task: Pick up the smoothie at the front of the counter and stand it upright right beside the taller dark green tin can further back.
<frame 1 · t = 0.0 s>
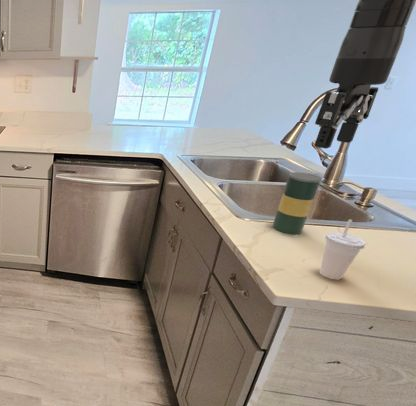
hand: (333, 144, 71), 32 cm above the worktop, tool pointing down, fingers open, 8 cm apart
smoothie: (329, 275, 85), on the worktop
tin can: (286, 229, 105), on the worktop
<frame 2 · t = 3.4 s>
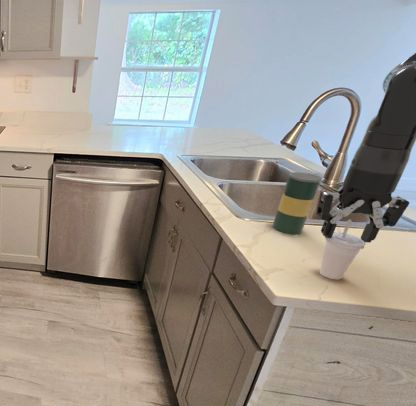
hand: (345, 238, 81), 10 cm above the worktop, tool pointing down, fingers closed on smoothie, 6 cm apart
smoothie: (329, 275, 85), on the worktop, touching gripper
everything else where it was.
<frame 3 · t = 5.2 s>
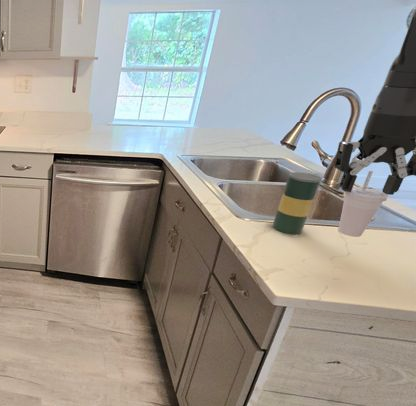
hand: (366, 191, 76), 21 cm above the worktop, tool pointing down, fingers closed on smoothie, 6 cm apart
smoothie: (349, 233, 80), point 11 cm above the worktop, touching gripper
everything else where it was.
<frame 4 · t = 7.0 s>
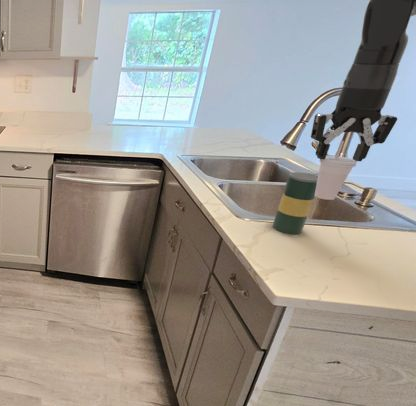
hand: (338, 159, 86), 24 cm above the worktop, tool pointing down, fingers closed on smoothie, 6 cm apart
smoothie: (324, 197, 90), point 14 cm above the worktop, touching gripper
everything else where it was.
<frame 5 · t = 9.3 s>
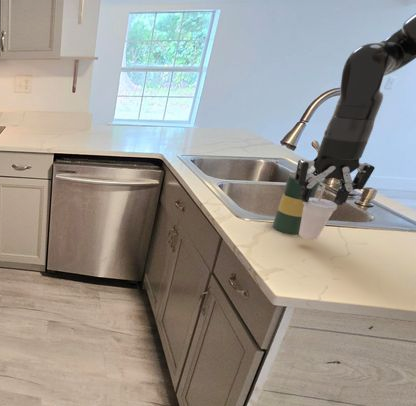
hand: (320, 202, 91), 13 cm above the worktop, tool pointing down, fingers closed on smoothie, 6 cm apart
smoothie: (307, 236, 95), point 3 cm above the worktop, touching gripper
everything else where it was.
when the fingers open (10 cm above the worktop, at t = 10.8 s): smoothie stays where it is, on the worktop.
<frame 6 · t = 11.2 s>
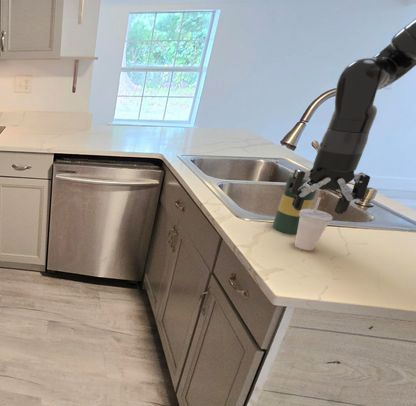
hand: (317, 211, 92), 10 cm above the worktop, tool pointing down, fingers open, 8 cm apart
smoothie: (303, 247, 96), on the worktop
everything else where it was.
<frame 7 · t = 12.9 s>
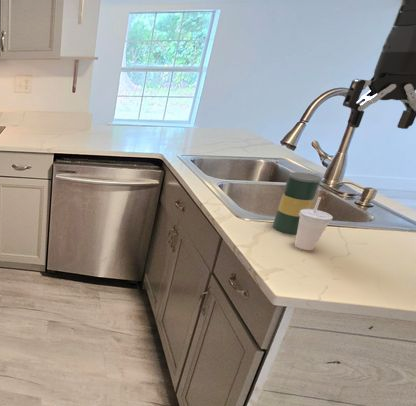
hand: (377, 127, 82), 32 cm above the worktop, tool pointing down, fingers open, 8 cm apart
nothing on the worktop moved.
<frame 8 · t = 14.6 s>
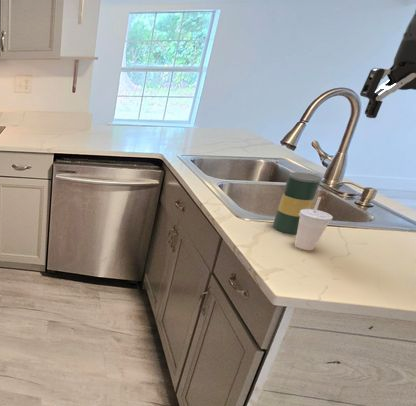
hand: (395, 118, 80), 34 cm above the worktop, tool pointing down, fingers open, 8 cm apart
nothing on the worktop moved.
at the end: smoothie 10.6 cm from the tin can (horizontally); smoothie tilted 0°; tin can moved 0.0 cm from its start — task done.
